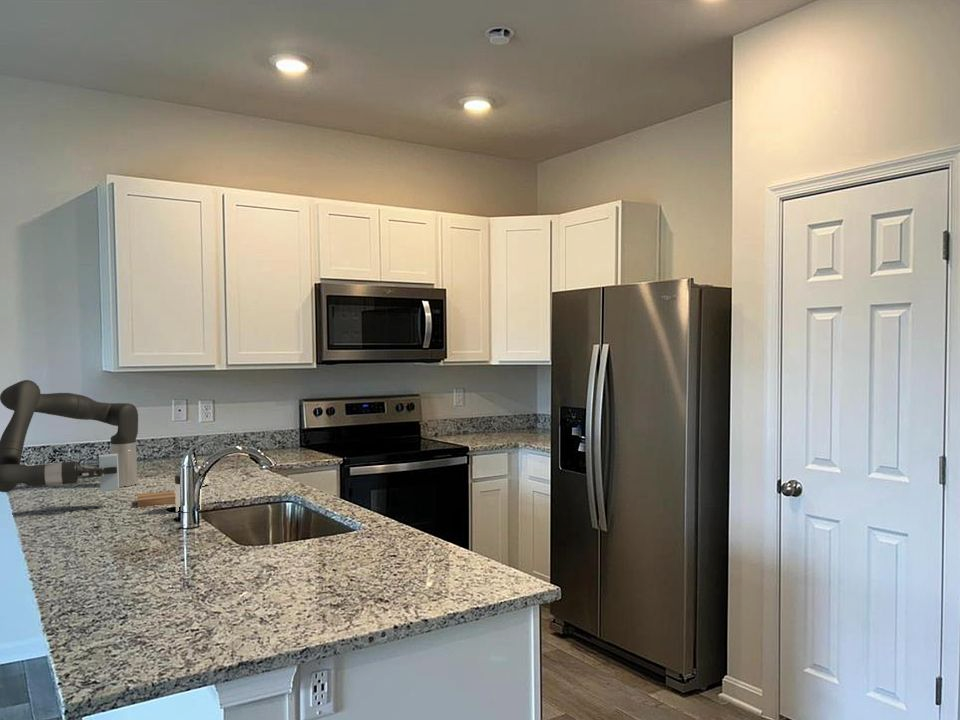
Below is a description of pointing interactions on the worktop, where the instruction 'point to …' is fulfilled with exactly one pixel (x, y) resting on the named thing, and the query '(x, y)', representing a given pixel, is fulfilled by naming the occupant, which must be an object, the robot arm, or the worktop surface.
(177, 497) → the jar
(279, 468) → the worktop surface
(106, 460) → the pillar
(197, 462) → the flask
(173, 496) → the slab
